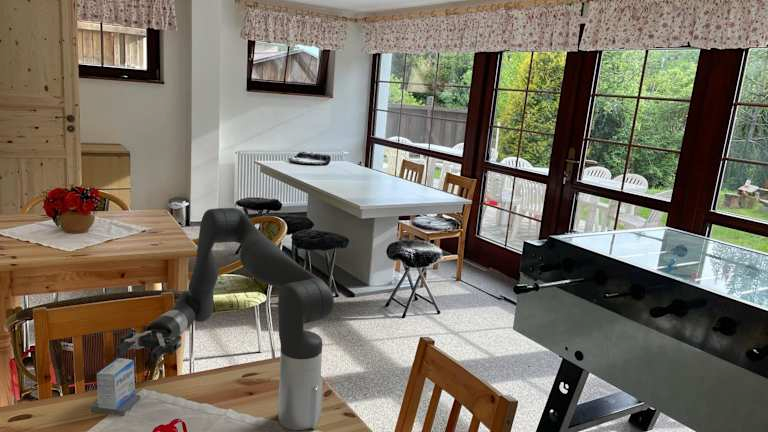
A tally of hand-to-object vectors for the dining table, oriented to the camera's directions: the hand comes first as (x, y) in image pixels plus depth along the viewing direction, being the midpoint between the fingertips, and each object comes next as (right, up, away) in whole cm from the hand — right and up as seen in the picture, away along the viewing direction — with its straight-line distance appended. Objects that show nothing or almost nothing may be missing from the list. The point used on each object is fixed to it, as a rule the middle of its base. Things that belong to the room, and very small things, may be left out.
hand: (135, 354), depth 144 cm
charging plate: (-2, -10, -7) cm, 12 cm away
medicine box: (-1, -9, -7) cm, 11 cm away
